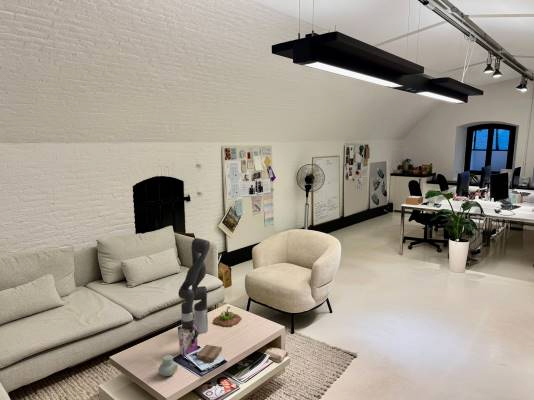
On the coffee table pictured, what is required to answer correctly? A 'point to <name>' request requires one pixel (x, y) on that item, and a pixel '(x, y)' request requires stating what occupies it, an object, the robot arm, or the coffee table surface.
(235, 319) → the plant
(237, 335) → the coffee table surface
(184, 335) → the candy bar box
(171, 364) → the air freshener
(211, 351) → the walnut plinth
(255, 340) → the coffee table surface
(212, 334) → the coffee table surface
